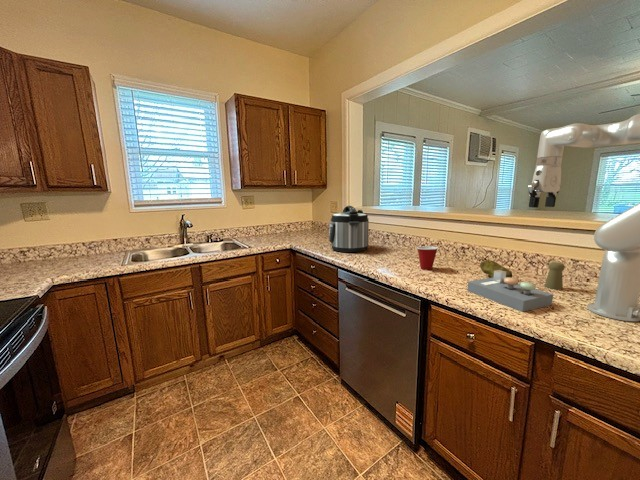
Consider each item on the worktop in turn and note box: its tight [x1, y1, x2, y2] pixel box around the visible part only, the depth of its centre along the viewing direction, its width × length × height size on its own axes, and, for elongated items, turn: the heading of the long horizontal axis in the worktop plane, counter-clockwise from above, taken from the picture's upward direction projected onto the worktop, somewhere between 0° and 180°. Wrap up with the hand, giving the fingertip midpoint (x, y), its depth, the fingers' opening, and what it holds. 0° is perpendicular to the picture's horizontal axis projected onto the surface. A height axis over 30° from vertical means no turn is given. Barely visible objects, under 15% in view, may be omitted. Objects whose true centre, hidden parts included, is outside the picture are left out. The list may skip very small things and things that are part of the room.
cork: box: [544, 261, 566, 291], centre depth 114 cm, size 6×6×11 cm
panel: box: [466, 277, 554, 313], centre depth 105 cm, size 22×16×4 cm
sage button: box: [519, 281, 537, 296], centre depth 98 cm, size 4×4×4 cm
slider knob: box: [493, 270, 506, 282], centre depth 111 cm, size 3×3×4 cm
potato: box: [479, 259, 513, 278], centre depth 129 cm, size 8×13×8 cm, turn 27°
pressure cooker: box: [328, 205, 370, 253], centre depth 194 cm, size 30×28×32 cm
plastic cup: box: [416, 245, 439, 271], centre depth 145 cm, size 11×11×12 cm
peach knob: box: [504, 277, 519, 290], centre depth 103 cm, size 4×4×4 cm
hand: (541, 207), depth 107 cm, fingers open, 9 cm apart
